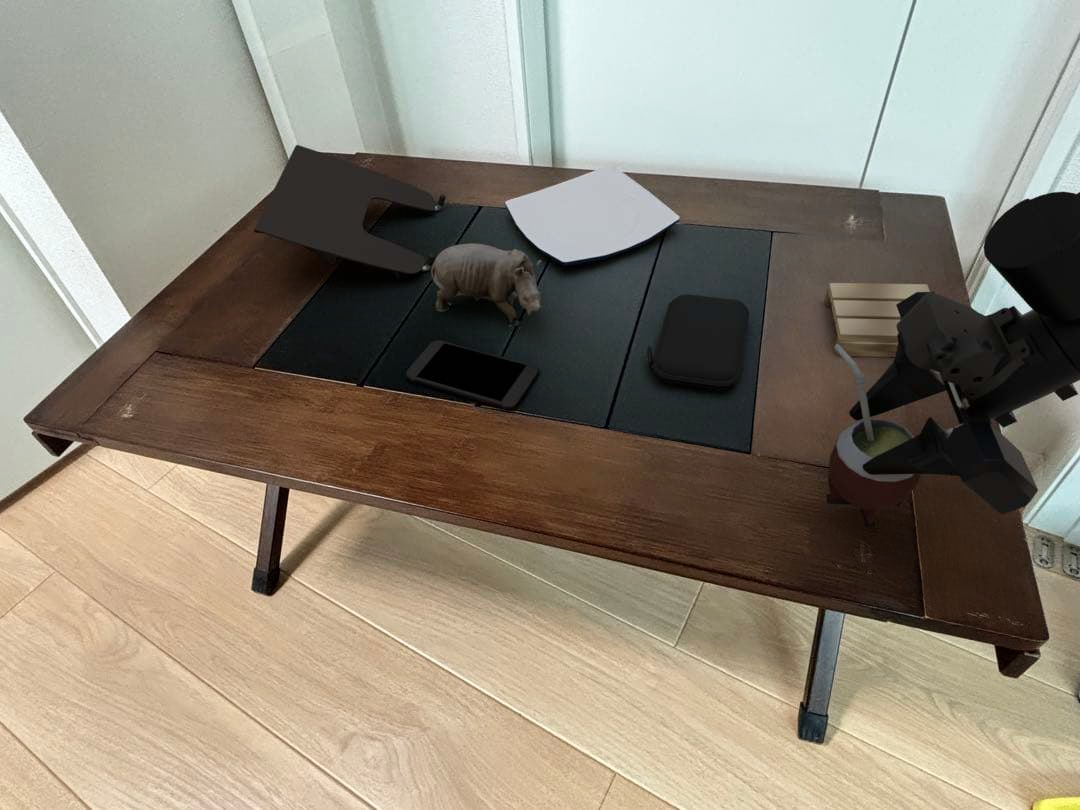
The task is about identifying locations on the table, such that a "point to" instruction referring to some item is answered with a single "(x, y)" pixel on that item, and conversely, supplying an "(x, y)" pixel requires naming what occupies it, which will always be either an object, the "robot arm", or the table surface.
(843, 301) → the rack
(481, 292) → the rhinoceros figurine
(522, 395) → the smartphone
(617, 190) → the plate
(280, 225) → the laptop tray
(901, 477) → the mate gourd
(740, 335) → the carrying case
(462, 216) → the table surface
